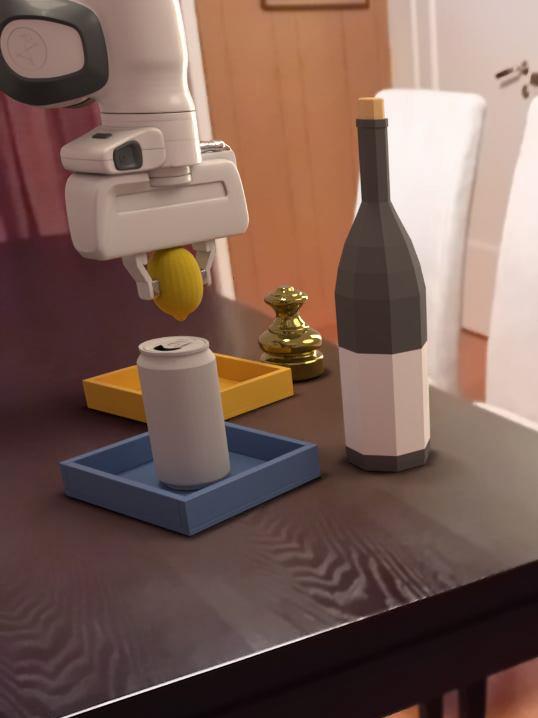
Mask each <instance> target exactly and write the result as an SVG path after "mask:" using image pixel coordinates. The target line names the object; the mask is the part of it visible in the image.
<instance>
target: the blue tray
mask: <svg viewBox="0 0 538 718" xmlns="http://www.w3.org/2000/svg"><path fill="white" fill-rule="evenodd" d="M224 424H225V431H226V439H227V446H228V454H229V461H230V472H229V473H228V474H227V475H226V476H225V477H224V478H223V479H222V481H220V482H218V483H216V484H213V485H211V486H209V487H206V488H203V489H197V490H177V489H173V488H170V487H168V486H167V485H166V483H163V482H161V481H160V480H159V479H158V478H157V476H156V471H155V466H154V460H153V454H152V448H151V443H150V437H149V431H148V430H147V431H146V432H143V433H139V434H137V435H134V436H131V437H129V438H125V439H123V440H120V441H116V442H114V443H112V444H108V445H106V446H103V447H100V448H97V449H93V450H92V451H88V452H86V453H83V454H80V455H76V456H74V457H71V458H69V459H68V458H67V459H66V460H63V461H60V462H58V465H59V471H60V474H61V479H62V483H63V487H64V493H65V496H68V497H69V498H70V497H71V498H73V499H76V500H79V501H83V502H86V503H88V504H92V505H94V506H97V507H99V508H103V509H107V510H110V511H113V512H116V513H119V514H122V515H125V516H127V517H131V518H134V519H137V520H139V521H142V522H147V523H149V524H151V525H155V526H157V527H161V528H164V529H167V530H169V531H172V532H176V533H179V534H182V535H185V536H188V537H191V536H192V537H193V536H194V535H196V534H198V533H200V532H203V531H204V530H207V529H209V528H211V527H214V526H215V525H218V524H220V523H222V522H224V521H226V520H228V519H231V518H233V517H235V516H237V515H239V514H241V513H244V512H246V511H248V510H250V509H252V508H255V507H256V506H259V505H261V504H263V503H265V502H267V501H270V500H272V499H274V498H277V497H278V496H280V495H282V494H284V493H287V492H289V491H292V490H294V489H296V488H298V487H300V486H302V485H304V484H306V483H308V482H311V481H313V480H315V479H317V478H320V477H321V467H320V458H319V457H320V456H319V446H318V444H317V443H312V442H309V441H306V440H301V439H297V438H293V437H289V436H285V435H281V434H276V433H272V432H268V431H265V430H260V429H257V428H252V427H248V426H245V425H240V424H236V423H233V422H228V421H224Z"/></svg>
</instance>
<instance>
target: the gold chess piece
mask: <svg viewBox="0 0 538 718" xmlns="http://www.w3.org/2000/svg"><path fill="white" fill-rule="evenodd" d="M308 300H309V297H308V294H307V293H305V292H304V291H302V290H300V289H297V288H294V286H292V285H288V284H287V285H286V284H284V285H278V286H277V287H276V288H275V289H273V290H271V291H269V292H268V293H266V294H265V295H264V296H263V301H264V303H265V304H266V305H268V306H269V307H270V308H271V309H272V310H273V312H274V313H275V317H274V320H272V323H270V324H269V325H268V327H267V328H268V329H266V330H264V331H263V332H261V334H259V336H258V337H257V345H258V348H259V349H260V351H262V352H263V353H262V354H260V356H259V360H260V362H262V363H267V364H272V365H277V366H282V367H286V368H291V374H292V382H302V381H308V380H309V381H310V380H312V379H316V378H317V377H320V376H321V375H322V374H323V373H324V371H325V367H324V366H325V365H324V353H323V352H322V351H320V350H319V349H321V347H322V344H323V337H322V335H321V333H320V332H319V331H317V330H316V329H314V328H312V327H310V324H309V323H307V322H306V321H304V319H303V318H302V317H301V315H300V311H301V309H302V307H303V306H304V305H305V304H306V303H307V302H308Z"/></svg>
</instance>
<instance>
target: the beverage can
mask: <svg viewBox="0 0 538 718" xmlns="http://www.w3.org/2000/svg"><path fill="white" fill-rule="evenodd" d="M138 351H139V352H140V354H139V355H138V358H137V360H136V365H137V368H138V374H139V380H140V385H141V391H142V397H143V403H144V408H145V414H146V420H147V423H146V424H147V432H148V431H149V437H150V443H151V448H152V454H153V460H154V466H155V471H156V476H157V478H158V479H159V480H160V481H161V482H163V483H166V485H167V486H168V487H170V488H173V489H177V490H197V489H203V488H206V487H209V486H211V485H213V484H216V483H218V482H220V481H222V479H223V478H224V477H225V476H226V475H227V474H228V473H229V472H230V461H229V454H228V446H227V439H226V431H225V424H224V422H225V420H224V416H223V409H222V402H221V394H220V387H219V379H218V372H217V364H216V357H215V355H214V354H213V353H214V352H213V351H212V350H211V349H210V341H209V340H208V339H206V338H204V337H200V336H191V335H177V336H175V335H174V336H163V337H158V338H152V339H149V340H146V341H144V342H142V343H140V344H139V345H138Z"/></svg>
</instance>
